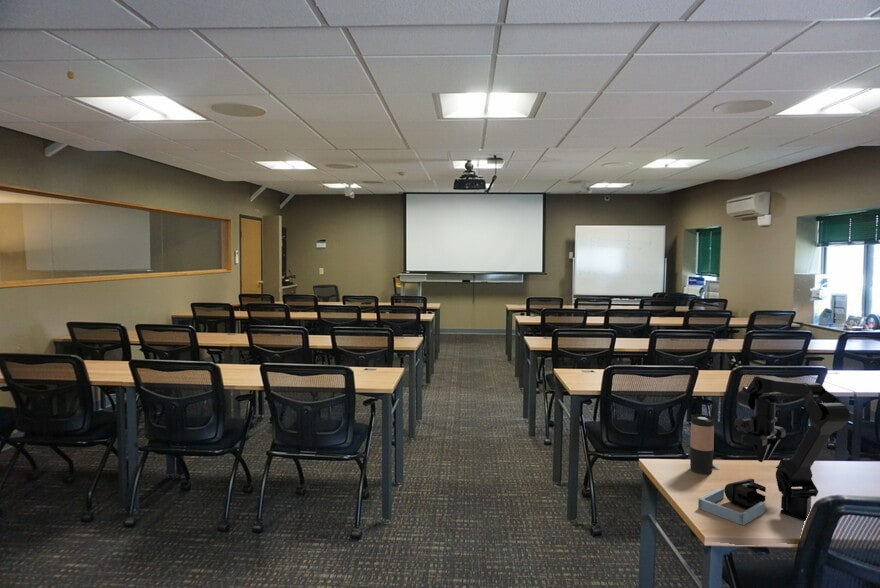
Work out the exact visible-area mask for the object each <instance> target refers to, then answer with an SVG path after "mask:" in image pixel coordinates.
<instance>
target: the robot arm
mask: <svg viewBox="0 0 880 588" xmlns="http://www.w3.org/2000/svg"><path fill="white" fill-rule="evenodd" d="M741 388H742V389H741V390H739V392H738V393H737V395H736V398H735V399H736V402H737V403H738V404H739V405H740V406H742V407H744V408H747V409H750V410H753V411H754V415H751V417H750V418H736V419H735V421H734V422H733V423H734V424H733V427H734V428H736V430H737V432H741V431H746V430H749V431H748V432H744V433H743V434H742V435H741V442H743V443H746V444H748V445H749V444H750V445H752V446H753V449H754V451H755V454H756V458H757V461H758V463H759V462H760V463H763V462H764V460H769V458H770V457H771V455H772V454H773V451H774V450H775V449H776V447H777V445H778V444H779V443H780V441H781V438H785V437H787V436H786V435H787V434H786V431H787V430H786V429H785V428H784V427H782V426H777V425H775V424H776V422H778V417H776V404H781V402H782V401H781V400H780V399H779V398H778V397H777V396H776V394H788V395H796V396H802V398H803V400H804V401H803V402H804V408H805V409H807V412H809V415H808V419H809V423H810V426H809V428H808V430H807V431H806V433H805V435H804V437H803V438H802V440H801V442H800V444H799V445H798V447H797V449H795V452H794V454H793V456H792V457H791V458H782V459H780V460H779V463H778V465H777V466H775V469H776V471H775V479H776V485H777V490H778V492H779V493H781V498H780V499H781V500H780V501H781V502H780V503H781V504H780V505H781V506H780V508H781V510H780V513H781V514H784V515H788V516H790V517H792V518H793V517H794V518H797V519H798V520H799V519H800V520H803V521H807V520H806V518H807V516H808V514H809V512H810V509H811V510H812V497H817V495H818V493H819V490H818V488H817V486H816V485H815V482H814V481H813V479H812V478H813V472H812V466H813V464H815V463H814V462H815V461H816V460H817V458H818V456H819V455H820V453H821V452H822V449H823V448H824V446H825V445H826V443H827V441H828V439H829V438H830V437H831V435H832V434H834V433H836V432H837V431H840V430H841V429H843V428H844V427H845V426H846V425H847V424H848V423H849V421H850V419H851V413H850V410H849V409H848V408H847V406H846V405H845V404H844V403H843V401H842V400H841V399H840V398H839V397H837V396H836V395H834V394H832V393H831V392H830V391H828V390H827V389H826V388H825V387H824V386H823V385H822V384H821V383H819V382H803V381H801V382H800V381H793V380H792V381H790V380H784V379H782V378H781V377H778V376H775V375H755V376H754V377H753V378H752V380H751V382H750V384H749V385H747V386H742V387H741ZM771 394H772V395H771ZM814 397H815V398H818V399H819V400H820V401H821V402H819V403H817V402H816V401H815V399H814ZM777 435H778V436H779V437H780V438H779V437H777Z"/></svg>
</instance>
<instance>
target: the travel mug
mask: <svg viewBox="0 0 880 588" xmlns="http://www.w3.org/2000/svg"><path fill="white" fill-rule="evenodd" d="M714 434H715V418H714V417H713V416H711V415H706V414H700V413H699V414H691V420H690V443H689V445H690V446H689V448H690V449H689V450H690V451H689V453H690V456H689V457H690V458H689V459H690V462H689V463H690V464H689V466H690V467H689V468H690V470H691V471H692V472H693V473H696V474H699V475H700V474H701V475H711V474H712V473H713V462H714V447H715V446H714V443H715V442H714V441H715V440H714V439H715V435H714Z"/></svg>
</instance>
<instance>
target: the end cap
mask: <svg viewBox="0 0 880 588" xmlns="http://www.w3.org/2000/svg"><path fill="white" fill-rule="evenodd" d="M723 489H724V495H725V497H726V499H727V500H728V502H730V503H731V504H732V506H735V507H737V508H740V509H742V510H744V511H746V510H748V509H749V508H751V507H753V506H755V505H756V504H758V503H760V502H764V503H765V502H766V495H765V494H762V493H759V492H758V491H761V492H763V493H766V492H767V491H766V486H764V485H762V484H759V483H757V482H755V479H754V478H747V479H743V480H739V481H735V482H730V483H727V484H726V485H725V486H724V488H723ZM757 490H758V491H757Z"/></svg>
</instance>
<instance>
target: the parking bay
mask: <svg viewBox="0 0 880 588" xmlns="http://www.w3.org/2000/svg"><path fill="white" fill-rule="evenodd" d="M724 489H725V488H722V487H720V488H718V489H715V490H713V491H711V492H710V493H707V494H705V495H704V496H701V497H699V498H698V507H697V509H699V510H702V511H704V512H707V513H710V514H711V515H715V516H718V517H720V518H722V519H725V520H728V521H730V522H733V523H735V524H738V525H741V526H745V525H746V524H748V523H750V522H752V521H754V519H756V518H759V517H760V516H761V515H763V514H764V513H765V512H766V511H765V509H766V506H765V505H766V503H765V501H764V502H760V503H758V504H756V505H755V506H753V507H751V508H749V509H748V510H744V511H743V512H739V511H737V510H735V509H731V508H728V507H725V506H723V505H722V504H721V505H720V504H718V503H717V502H719V501H721V500H723V499H724V497H725V496H724V495H725V492H724Z"/></svg>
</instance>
